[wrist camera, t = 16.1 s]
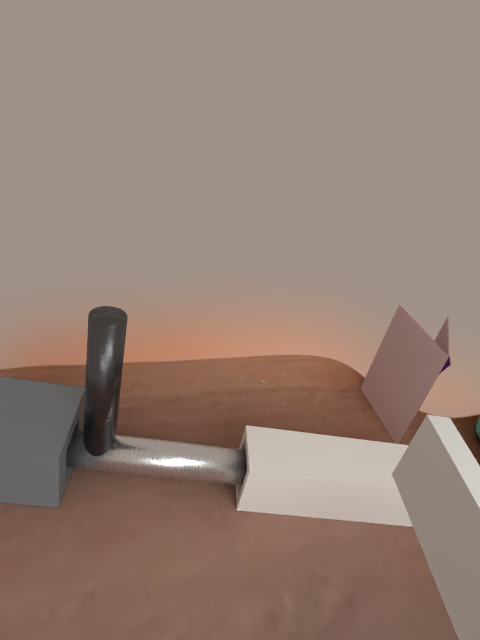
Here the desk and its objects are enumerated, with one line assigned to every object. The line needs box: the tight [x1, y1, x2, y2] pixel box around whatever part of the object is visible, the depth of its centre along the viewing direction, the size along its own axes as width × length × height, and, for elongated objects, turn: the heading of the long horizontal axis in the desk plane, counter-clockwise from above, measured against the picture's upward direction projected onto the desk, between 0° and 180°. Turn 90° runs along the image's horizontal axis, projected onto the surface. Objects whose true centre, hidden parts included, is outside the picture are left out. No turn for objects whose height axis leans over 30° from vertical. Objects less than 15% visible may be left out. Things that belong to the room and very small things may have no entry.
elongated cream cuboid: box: [235, 425, 413, 527], centre depth 48 cm, size 20×6×6 cm, turn 92°
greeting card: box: [360, 305, 450, 444], centre depth 60 cm, size 11×7×15 cm, turn 157°
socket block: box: [0, 377, 85, 508], centre depth 43 cm, size 10×9×7 cm
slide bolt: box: [66, 306, 247, 485], centre depth 41 cm, size 26×4×18 cm, turn 92°
